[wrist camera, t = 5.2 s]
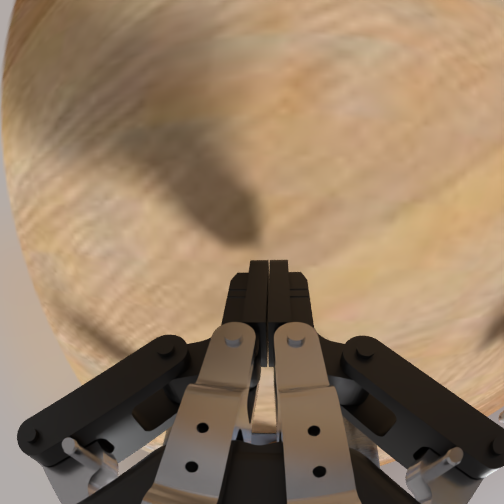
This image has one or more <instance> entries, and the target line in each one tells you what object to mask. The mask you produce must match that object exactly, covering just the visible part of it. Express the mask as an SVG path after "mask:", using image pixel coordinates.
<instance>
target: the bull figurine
mask: <svg viewBox="0 0 504 504" xmlns="http://www.w3.org/2000/svg"><path fill="white" fill-rule="evenodd" d="M499 422H503V423H504V411H503V412H501V413H500V415H499Z"/></svg>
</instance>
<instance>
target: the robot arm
mask: <svg viewBox="0 0 504 504" xmlns="http://www.w3.org/2000/svg"><path fill="white" fill-rule="evenodd" d="M268 351H269V367H274V397H275V412H276V429H277V442H275V443H270V444H265V445H254V444H251V433H252V424H253V418H254V412H255V407H256V400H257V394H258V388H259V380H260V374H261V367H267V354H268ZM342 416H343V417H345V418H346V419H347V420H348V421H349V422H350V423H351V424H353V425H354V426H355V427H356V428H357V429H358V430H360V431H361V432H362V433H363V434H364V435H366V436H367V437H368V438H369V439H370V440H371V441H373V442H374V443H375V444H376V445H378V446H379V447H380V448H381V449H382V450H384V451H385V452H386V453H387V454H389V455H390V456H391V457H392V458H394V459H395V460H396V461H397V462H399V463H400V464H401V465H402V466H404V467H405V468H406V469H408V470H407V473H406V485H407V487H408V489H409V490H410V491H411V492H412V493H413V494H414V496H415V498H413V497H412V496H411V495H410V494H409V493H407V492H406V491H405V490H404V489H403V488H401V487H400V486H399V485H398V484H397V483H396V482H394V481H393V480H392V479H391V478H390V477H389V476H388V475H386V474H385V473H384V472H383V471H382V470H381V469H380V468H379V467H377V466H376V465H375V464H374V463H373V462H372V461H371V460H370V459H369V458H367V457H366V456H365V455H363V454H362V453H360V452H359V451H357V450H355V449H353V448H350V447H348V442H347V437H346V432H345V427H344V422H343V417H342ZM172 425H173V427H172V430H171V433H170V436H169V439H168V442H167V444H166V445H164V446H162V447H160V448H158V449H156V450H154V451H153V452H152V453H150V454H149V455H148V456H146V457H145V458H144V459H142V460H141V461H140V462H138V463H137V464H136V465H134V466H133V467H131V468H130V469H129V470H127V471H126V472H124V473H123V474H122V475H120V476H119V477H118V463H119V462H121V461H122V460H124V459H125V458H127V457H128V456H130V455H131V454H133V453H134V452H136V451H137V450H139V449H140V448H142V447H143V446H145V445H146V444H147V443H149V442H150V441H152V440H153V439H154V438H156V437H157V436H159V435H160V434H161V433H163V432H164V431H166V430H167V429H168V428H170V427H171V426H172ZM17 440H18V445H19V447H20V448H21V450H22V451H23V452H24V453H25V454H27V455H28V456H30V457H31V458H33V459H34V460H36V461H37V462H38V463H39V464H40V465H41V466H42V467H43V469H44V471H45V473H46V475H47V477H48V479H49V481H50V483H51V485H52V487H53V489H54V491H55V493H56V495H57V496H58V498H59V500H60V502H61V503H62V504H467V503H468V502H469V500H470V499H471V497H472V496H473V494H474V493H475V491H476V490H477V488H478V486H479V485H480V483H481V482H482V480H483V479H484V478H485V477H486V476H488V475H490V474H491V473H493V472H495V471H496V470H498V469H499V468H501V467H503V466H504V429H503V428H502V427H501V426H499V425H498V424H496V423H495V422H493V421H492V420H491V419H489V418H488V417H486V416H485V415H484V414H482V413H481V412H479V411H478V410H476V409H475V408H474V407H472V406H471V405H469V404H468V403H466V402H465V401H464V400H462V399H461V398H459V397H458V396H456V395H455V394H454V393H452V392H451V391H449V390H448V389H447V388H445V387H444V386H442V385H441V384H439V383H438V382H437V381H435V380H434V379H432V378H431V377H429V376H428V375H427V374H425V373H424V372H422V371H421V370H419V369H418V368H417V367H415V366H414V365H412V364H411V363H410V362H408V361H407V360H405V359H404V358H402V357H401V356H400V355H398V354H397V353H395V352H394V351H392V350H391V349H390V348H388V347H387V346H385V345H384V344H382V343H381V342H380V341H378V340H377V339H375V338H372V337H369V336H356V337H353V338H351V339H350V340H348V341H347V342H346V343H345V344H342V343H337V342H333V341H329V340H327V339H325V338H323V337H322V336H320V335H319V334H318V333H317V332H316V330H315V328H314V325H313V317H312V310H311V303H310V298H309V290H308V282H307V279H306V278H305V277H304V275H303V274H302V273H301V272H288V260H270V271H269V262H268V260H251V261H250V267H249V273H237V274H236V275H235V276H234V277H233V278H232V280H231V282H230V286H229V291H228V296H227V300H226V305H225V310H224V315H223V319H222V324H221V326H219V327H218V328H217V329H216V330H215V331H214V332H213V335H212V337H211V338H209V339H207V340H204V341H200V342H196V343H190V344H186V342H185V341H184V340H183V339H182V338H181V337H179V336H176V335H163V336H160V337H157V338H156V339H154V340H152V341H151V342H149V343H148V344H146V345H145V346H143V347H142V348H140V349H139V350H137V351H136V352H134V353H132V354H131V355H129V356H128V357H126V358H125V359H123V360H122V361H120V362H118V363H117V364H115V365H114V366H112V367H111V368H109V369H108V370H106V371H104V372H103V373H101V374H100V375H98V376H96V377H95V378H93V379H92V380H90V381H89V382H87V383H85V384H84V385H82V386H81V387H79V388H77V389H76V390H74V391H73V392H71V393H69V394H68V395H66V396H65V397H63V398H61V399H60V400H58V401H57V402H55V403H53V404H52V405H50V406H49V407H47V408H45V409H43V410H42V411H40V412H39V413H37V414H35V415H34V416H32V417H30V418H29V419H27V420H26V421H24V422H23V423H22V425H21V426H20V428H19V430H18V434H17Z"/></svg>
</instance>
